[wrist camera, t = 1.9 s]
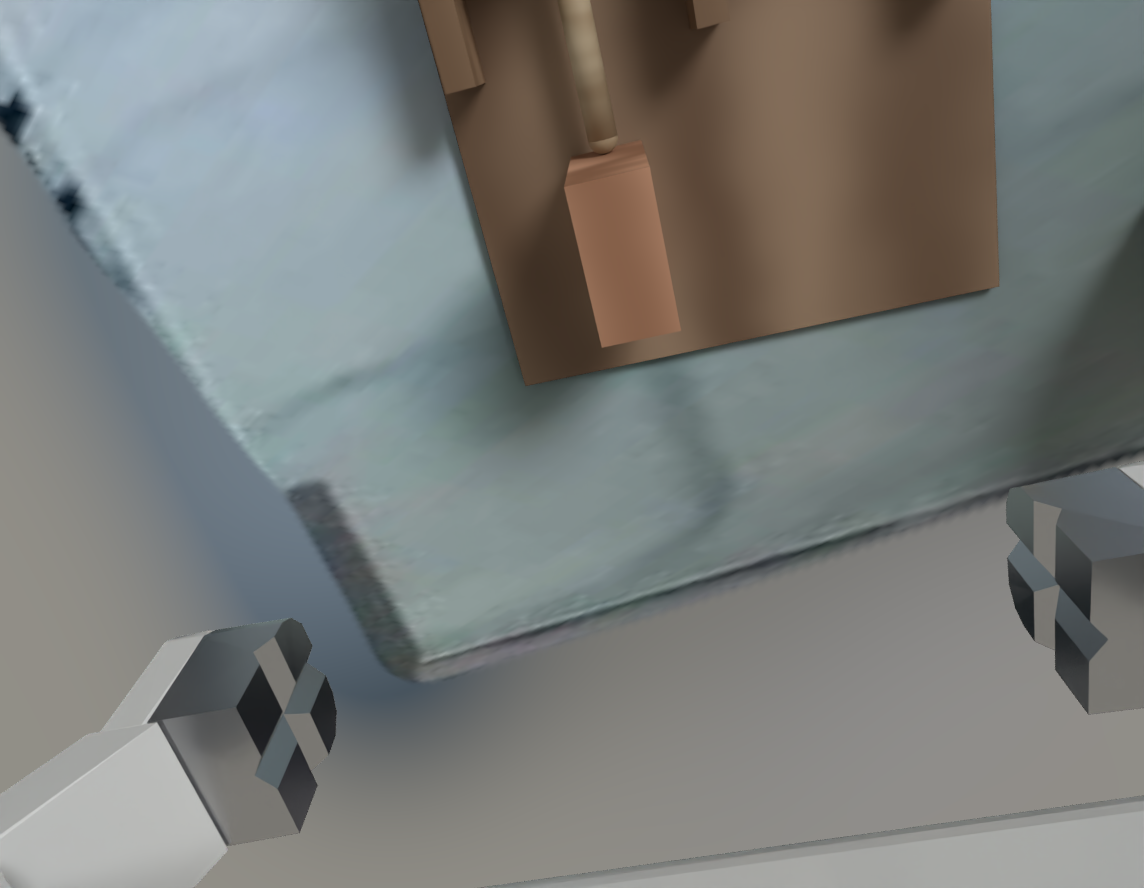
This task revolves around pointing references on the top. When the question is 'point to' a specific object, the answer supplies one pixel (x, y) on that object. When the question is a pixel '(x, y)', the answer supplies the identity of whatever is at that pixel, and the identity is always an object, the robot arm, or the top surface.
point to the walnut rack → (732, 159)
